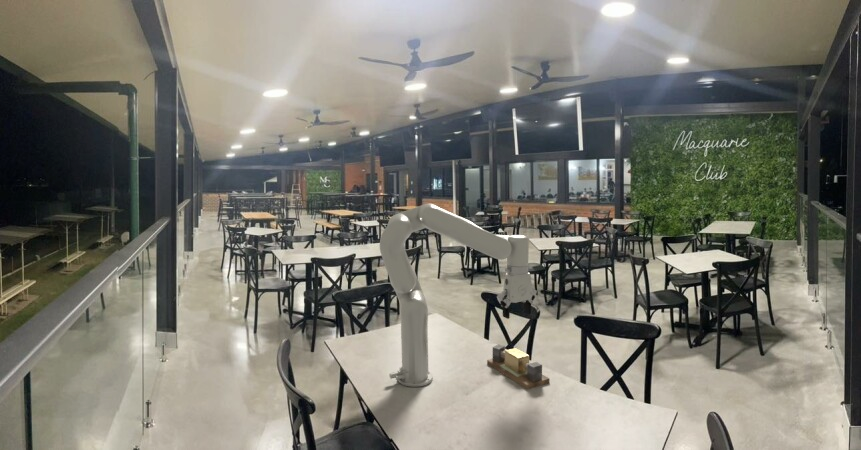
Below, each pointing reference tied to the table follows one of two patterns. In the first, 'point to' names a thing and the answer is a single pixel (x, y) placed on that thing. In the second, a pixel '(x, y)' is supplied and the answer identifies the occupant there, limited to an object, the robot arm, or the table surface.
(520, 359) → the gold rectangular block
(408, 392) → the table surface
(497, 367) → the shaft rig
